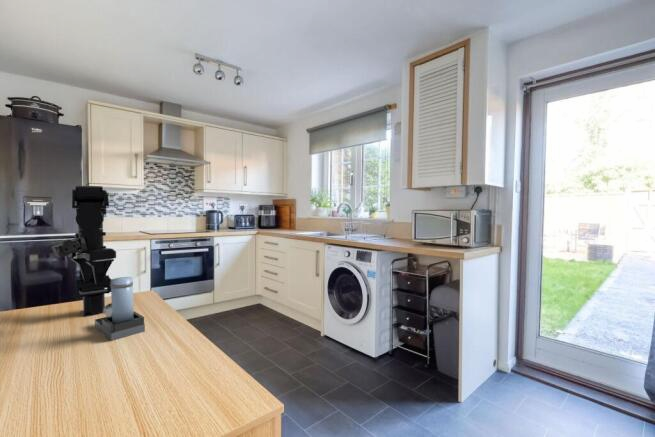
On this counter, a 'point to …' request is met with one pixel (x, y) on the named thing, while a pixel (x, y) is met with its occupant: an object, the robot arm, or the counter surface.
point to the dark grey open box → (119, 325)
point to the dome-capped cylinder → (122, 299)
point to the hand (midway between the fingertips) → (92, 282)
